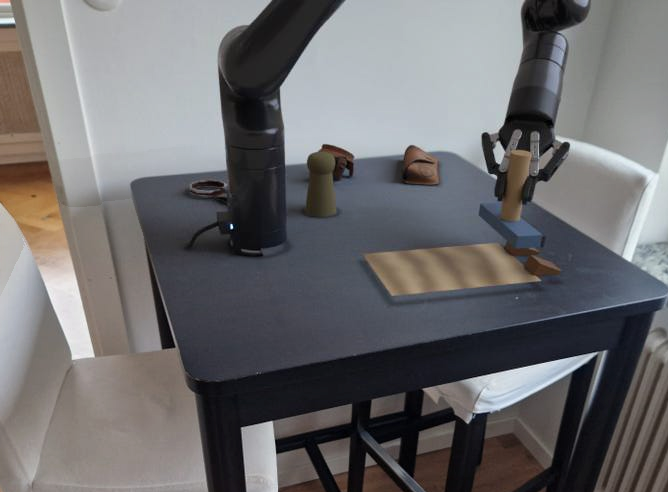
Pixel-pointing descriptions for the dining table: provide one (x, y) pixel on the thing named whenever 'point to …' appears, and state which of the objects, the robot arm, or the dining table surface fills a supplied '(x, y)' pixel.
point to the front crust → (541, 266)
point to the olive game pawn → (320, 185)
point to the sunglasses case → (419, 167)
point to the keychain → (218, 194)
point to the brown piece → (339, 161)
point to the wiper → (513, 207)
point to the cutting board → (447, 268)
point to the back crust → (520, 250)
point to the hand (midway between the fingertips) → (512, 200)
